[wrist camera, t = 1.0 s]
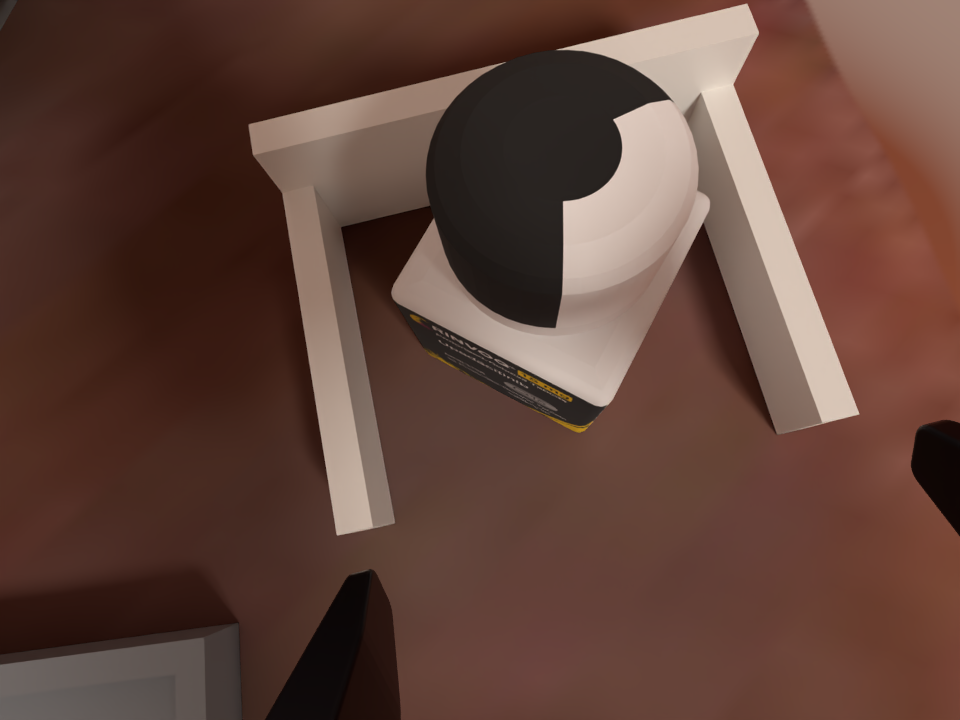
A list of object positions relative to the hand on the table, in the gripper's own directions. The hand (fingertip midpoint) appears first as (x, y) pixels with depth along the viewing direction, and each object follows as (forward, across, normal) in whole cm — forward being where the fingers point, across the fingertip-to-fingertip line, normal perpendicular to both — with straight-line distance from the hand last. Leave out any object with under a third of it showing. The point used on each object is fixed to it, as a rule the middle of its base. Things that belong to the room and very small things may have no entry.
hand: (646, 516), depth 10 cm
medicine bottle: (+15, -1, +4) cm, 15 cm away
